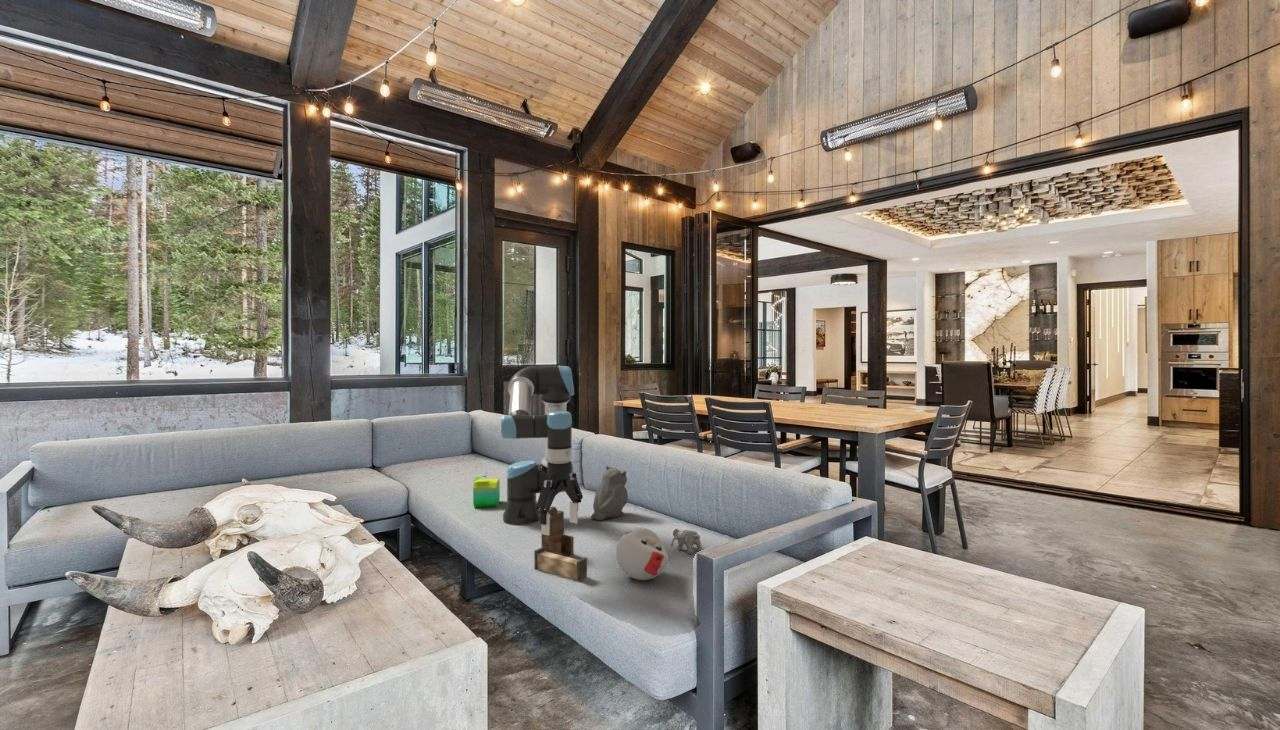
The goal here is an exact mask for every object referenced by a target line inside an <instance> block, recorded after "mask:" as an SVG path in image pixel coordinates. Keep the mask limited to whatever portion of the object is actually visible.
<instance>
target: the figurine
mask: <svg viewBox="0 0 1280 730" xmlns="http://www.w3.org/2000/svg"><path fill="white" fill-rule="evenodd" d="M605 469H606V471H605V472H604V473H603V475H602V478H601V482H600V483H599V484H598V486H597V488H596V491H595V494H594V498H593V503H592V507H593V513H592V514H591V515H590V518H591V519H592V520H596V521H602V522H603V520H605V519H614V518H619V517H622V516H624V515H625V513H624V511H623V508H624V507H625V506H626V505H627V502H628V500H629V495H628V490H627V488H626V484H627V481H628V478H627V471H626V470H620V469H618V468H615V467H611V466H608V465H606V466H605Z"/></svg>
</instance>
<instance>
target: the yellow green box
mask: <svg viewBox="0 0 1280 730" xmlns="http://www.w3.org/2000/svg"><path fill="white" fill-rule="evenodd" d="M485 473H486V475H481V476H477V477H474V479H473V487H472V488H473V489H472V490H473V491H472V492H473V493H472V499H473V500H472V501H473V508H488V507H489V508H490V507H491V508H493V507H494V508H495V507H498V505H499V503H500V497H501V496H500V494H501V493H500V492H501V491H500V489H501V487H500V486H501V485H500V482H501V481H500V478H487V477H488V475H487V473H488V472H487V471H486V472H485Z"/></svg>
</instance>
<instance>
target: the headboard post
mask: <svg viewBox="0 0 1280 730" xmlns="http://www.w3.org/2000/svg"><path fill="white" fill-rule="evenodd" d="M548 513H549V514H550V535H543V534H541V547H545V551H546V552H550V553H554V554H558V555H562V554H566V555H569V556H572V555H574V551H575V550H574V548H575V547H574V536H572V535H567V534H565V533H564V532H565V531H564V530H565V529H564V527H565V523H564V521H565V520H564V519H565V517H564V513H565V512H564V510H558V508H556V507H555V506H551V507H550V509H549V511H548Z"/></svg>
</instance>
